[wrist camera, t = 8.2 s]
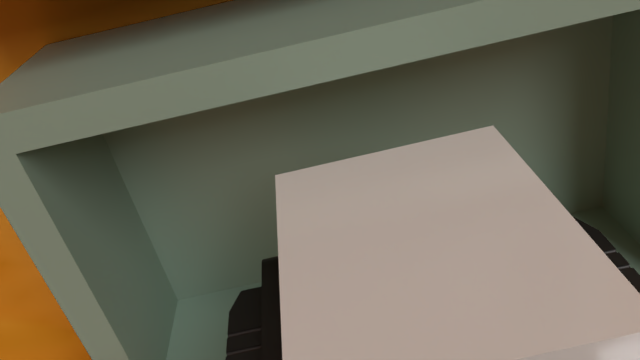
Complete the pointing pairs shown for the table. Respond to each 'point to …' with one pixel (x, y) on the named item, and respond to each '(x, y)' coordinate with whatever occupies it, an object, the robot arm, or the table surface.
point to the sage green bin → (288, 138)
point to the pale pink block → (443, 261)
